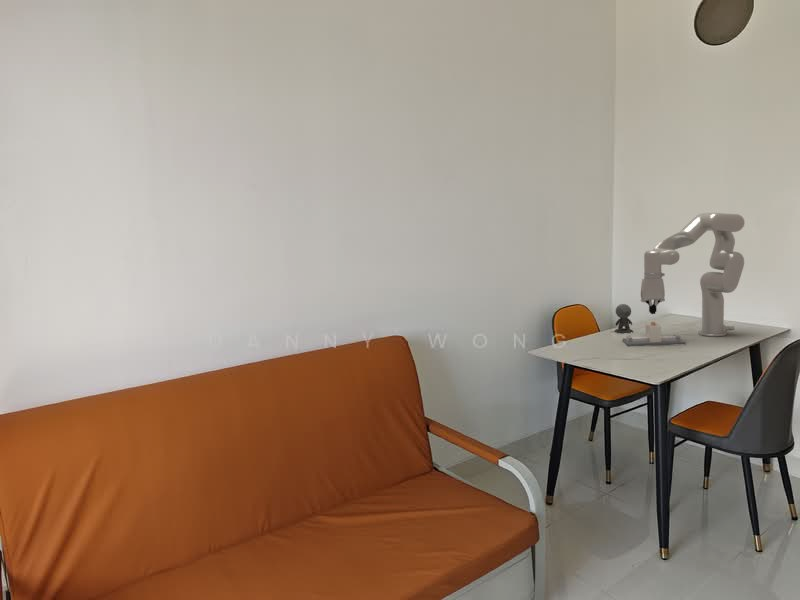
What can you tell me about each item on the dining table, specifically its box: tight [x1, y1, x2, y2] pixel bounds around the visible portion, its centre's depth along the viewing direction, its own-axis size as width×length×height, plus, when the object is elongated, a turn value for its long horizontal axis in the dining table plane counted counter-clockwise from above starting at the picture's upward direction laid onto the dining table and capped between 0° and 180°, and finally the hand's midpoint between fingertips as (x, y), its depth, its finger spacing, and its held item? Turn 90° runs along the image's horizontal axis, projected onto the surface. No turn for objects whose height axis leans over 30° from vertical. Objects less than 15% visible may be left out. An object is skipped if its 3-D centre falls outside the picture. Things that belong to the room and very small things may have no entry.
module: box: [645, 321, 662, 342], centre depth 270 cm, size 5×8×9 cm, turn 170°
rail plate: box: [622, 333, 686, 347], centre depth 270 cm, size 26×11×3 cm, turn 80°
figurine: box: [614, 303, 634, 334], centre depth 297 cm, size 9×10×15 cm
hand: (652, 313), depth 268 cm, fingers closed
